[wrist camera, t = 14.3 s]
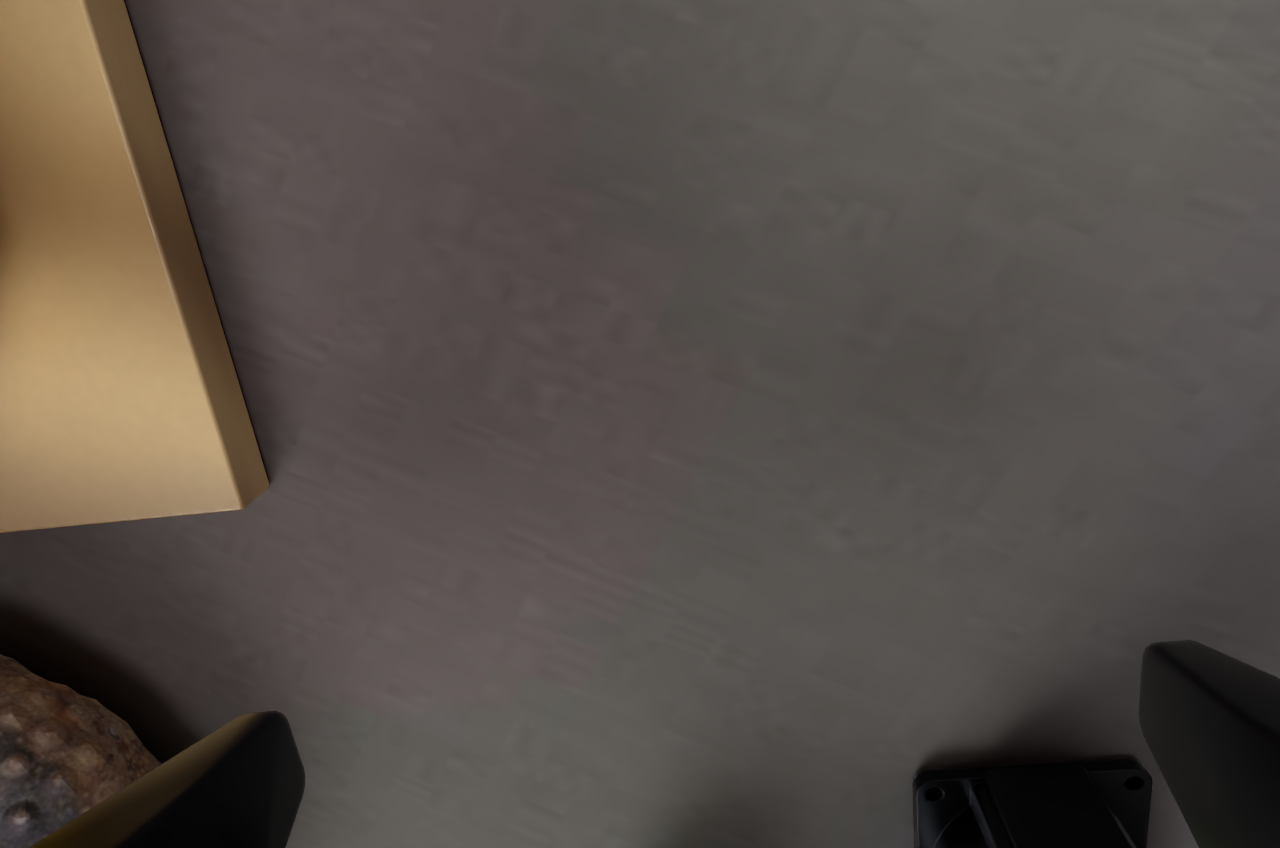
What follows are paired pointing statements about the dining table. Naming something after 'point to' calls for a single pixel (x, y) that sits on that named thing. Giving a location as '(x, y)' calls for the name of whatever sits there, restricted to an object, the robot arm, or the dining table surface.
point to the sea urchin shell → (57, 755)
